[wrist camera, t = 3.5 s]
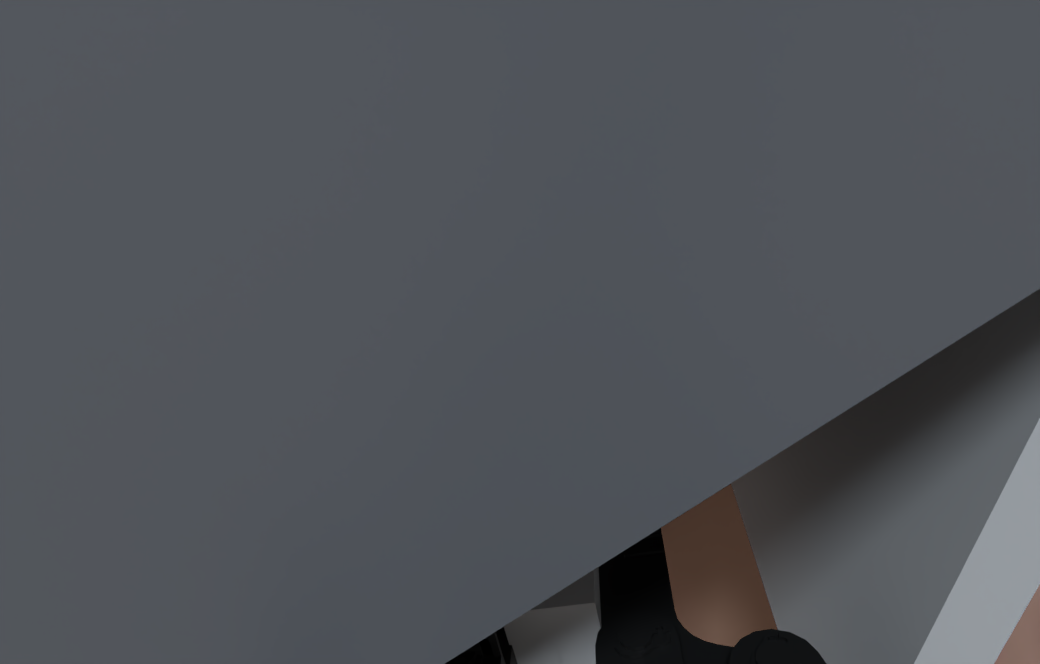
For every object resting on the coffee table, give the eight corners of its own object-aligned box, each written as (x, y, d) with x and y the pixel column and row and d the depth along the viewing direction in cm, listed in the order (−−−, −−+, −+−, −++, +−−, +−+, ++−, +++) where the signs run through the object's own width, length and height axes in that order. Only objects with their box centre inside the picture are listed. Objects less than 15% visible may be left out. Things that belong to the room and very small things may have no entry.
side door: (874, -11, 15) (1252, 1, 7) (954, 1, 15) (1432, 29, 7) (725, 467, 20) (837, 815, 11) (786, 476, 20) (940, 829, 11)
